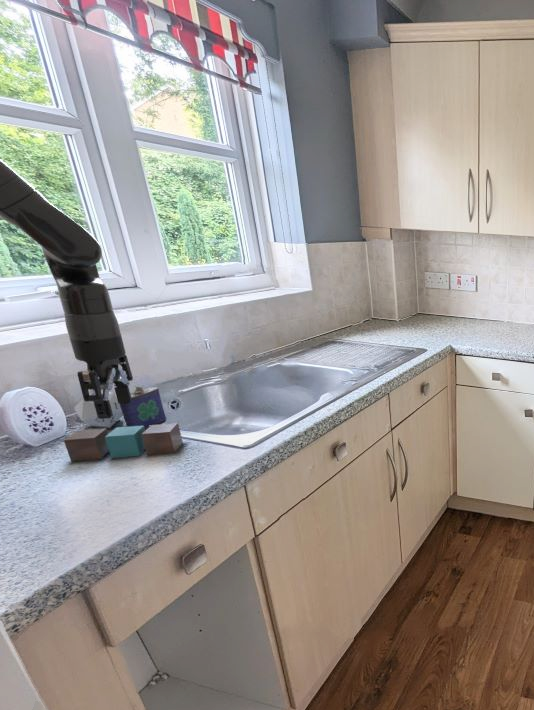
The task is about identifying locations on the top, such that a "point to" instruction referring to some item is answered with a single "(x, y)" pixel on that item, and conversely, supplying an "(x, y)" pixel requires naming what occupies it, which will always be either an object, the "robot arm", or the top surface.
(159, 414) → the flask
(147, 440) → the block
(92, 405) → the die
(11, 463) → the top surface
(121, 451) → the teal block
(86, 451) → the block
